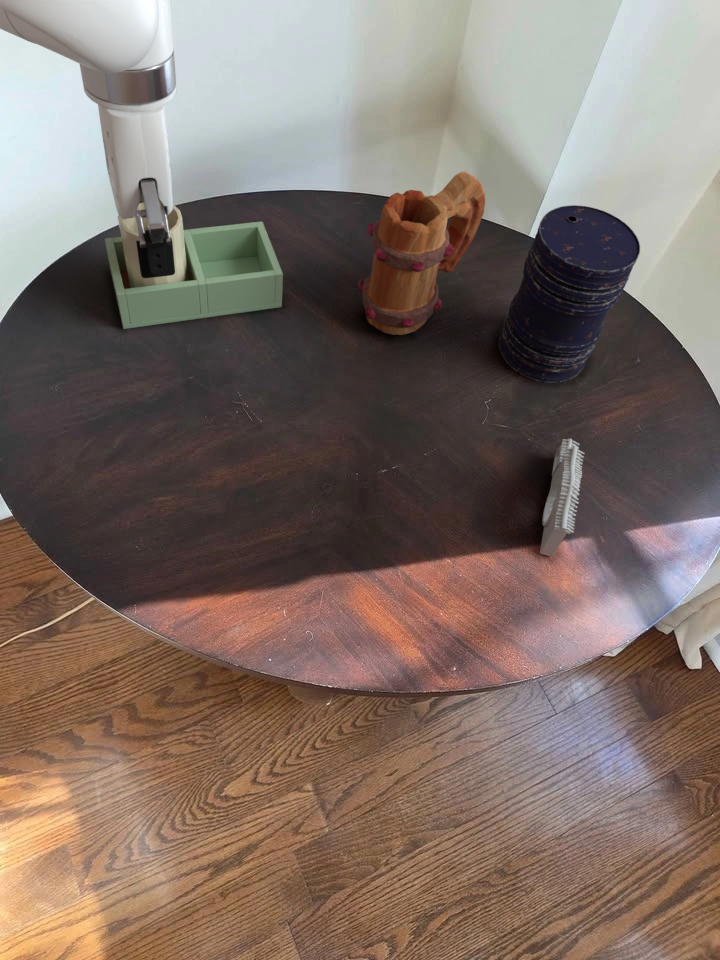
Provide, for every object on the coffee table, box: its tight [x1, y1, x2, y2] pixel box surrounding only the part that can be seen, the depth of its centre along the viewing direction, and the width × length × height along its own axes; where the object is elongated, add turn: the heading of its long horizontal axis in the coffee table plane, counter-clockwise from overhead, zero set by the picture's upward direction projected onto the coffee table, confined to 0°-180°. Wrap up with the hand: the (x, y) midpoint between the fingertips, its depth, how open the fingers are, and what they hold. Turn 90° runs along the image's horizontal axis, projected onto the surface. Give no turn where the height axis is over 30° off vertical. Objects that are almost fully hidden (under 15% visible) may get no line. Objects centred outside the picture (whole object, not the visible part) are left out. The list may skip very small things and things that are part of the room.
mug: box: [357, 171, 486, 336], centre depth 80 cm, size 15×8×15 cm, turn 131°
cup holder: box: [104, 221, 284, 330], centre depth 83 cm, size 17×9×5 cm, turn 108°
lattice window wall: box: [539, 437, 586, 558], centre depth 71 cm, size 12×2×6 cm, turn 164°
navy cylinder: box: [498, 204, 641, 384], centre depth 79 cm, size 10×10×15 cm
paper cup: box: [117, 203, 188, 288], centre depth 79 cm, size 6×6×9 cm
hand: (149, 243), depth 78 cm, fingers open, 9 cm apart
